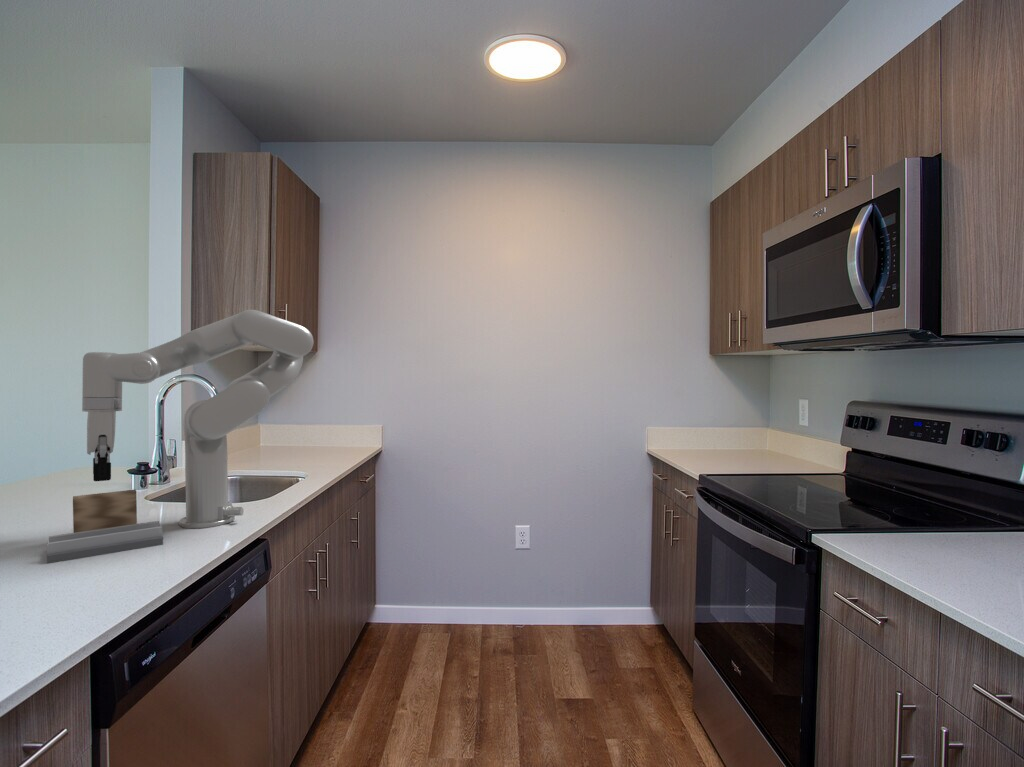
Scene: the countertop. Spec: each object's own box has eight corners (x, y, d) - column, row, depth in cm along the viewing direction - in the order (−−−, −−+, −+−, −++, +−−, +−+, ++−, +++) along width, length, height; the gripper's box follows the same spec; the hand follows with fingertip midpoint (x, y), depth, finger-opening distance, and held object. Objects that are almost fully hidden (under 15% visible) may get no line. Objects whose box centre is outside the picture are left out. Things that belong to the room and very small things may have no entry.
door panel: (136, 529, 136) (135, 489, 135) (137, 532, 133) (136, 491, 133) (73, 538, 128) (73, 496, 128) (73, 542, 126) (72, 498, 126)
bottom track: (158, 533, 132) (158, 519, 132) (163, 544, 124) (162, 528, 124) (49, 550, 120) (49, 534, 120) (47, 563, 112) (46, 546, 112)
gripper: (82, 403, 134) (81, 473, 135) (81, 407, 121) (81, 485, 121) (120, 402, 139) (119, 470, 139) (123, 406, 125) (123, 481, 126)
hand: (101, 477), depth 130 cm, fingers open, 9 cm apart
